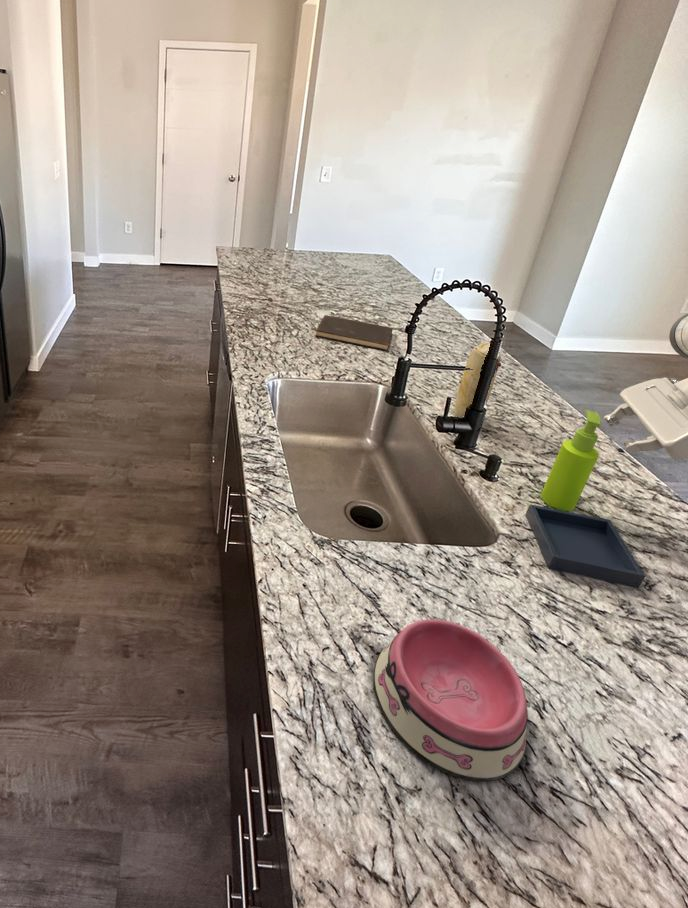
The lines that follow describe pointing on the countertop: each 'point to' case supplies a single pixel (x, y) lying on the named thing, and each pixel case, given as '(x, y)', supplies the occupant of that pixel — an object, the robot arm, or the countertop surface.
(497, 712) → the dog bowl
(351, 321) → the hardcover book
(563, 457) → the soap dispenser
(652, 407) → the robot arm
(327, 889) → the countertop surface
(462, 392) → the food model
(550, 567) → the drip tray
